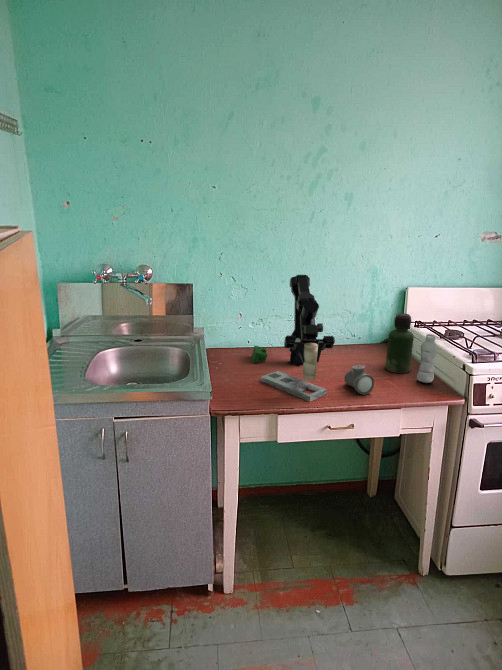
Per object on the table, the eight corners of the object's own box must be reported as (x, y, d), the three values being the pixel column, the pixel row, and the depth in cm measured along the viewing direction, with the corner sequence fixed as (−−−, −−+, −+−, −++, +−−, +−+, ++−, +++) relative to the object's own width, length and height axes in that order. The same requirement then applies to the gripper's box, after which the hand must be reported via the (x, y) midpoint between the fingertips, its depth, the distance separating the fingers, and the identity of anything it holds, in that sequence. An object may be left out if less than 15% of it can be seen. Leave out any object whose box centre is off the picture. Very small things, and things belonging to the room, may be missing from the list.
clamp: (262, 371, 216) (267, 358, 211) (250, 368, 216) (255, 355, 210) (263, 354, 225) (268, 341, 220) (252, 352, 224) (256, 339, 219)
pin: (308, 373, 184) (310, 341, 180) (318, 377, 180) (320, 345, 177) (299, 376, 181) (301, 344, 177) (309, 380, 177) (312, 347, 173)
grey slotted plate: (277, 375, 200) (278, 370, 200) (326, 394, 182) (327, 389, 182) (260, 381, 194) (261, 376, 193) (309, 401, 176) (310, 396, 175)
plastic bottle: (425, 385, 192) (431, 338, 187) (412, 380, 198) (418, 334, 192) (436, 383, 195) (443, 336, 190) (424, 377, 201) (430, 332, 195)
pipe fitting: (375, 393, 184) (374, 367, 181) (357, 397, 181) (356, 371, 179) (359, 384, 195) (358, 360, 193) (341, 388, 192) (340, 364, 190)
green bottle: (395, 375, 203) (401, 318, 196) (380, 366, 213) (386, 312, 205) (414, 372, 207) (421, 316, 200) (399, 364, 216) (405, 311, 209)
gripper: (286, 315, 177) (288, 352, 170) (335, 315, 178) (339, 353, 171) (283, 329, 187) (285, 365, 180) (330, 329, 188) (333, 365, 180)
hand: (310, 362), depth 177 cm, fingers closed on pin, 5 cm apart
